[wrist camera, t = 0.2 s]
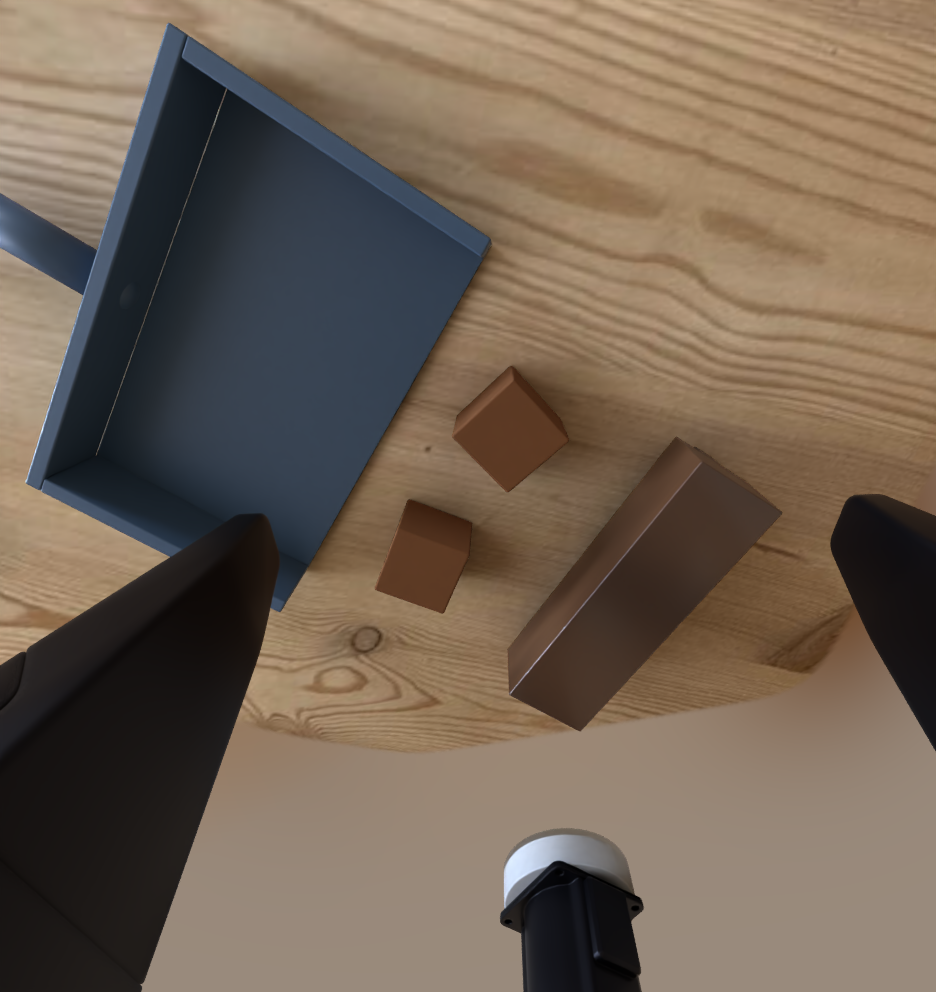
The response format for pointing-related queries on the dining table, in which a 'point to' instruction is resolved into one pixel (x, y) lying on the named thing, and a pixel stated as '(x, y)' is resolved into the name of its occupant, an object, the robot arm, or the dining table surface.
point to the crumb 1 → (426, 557)
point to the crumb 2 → (509, 429)
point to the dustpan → (238, 316)
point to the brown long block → (636, 583)
